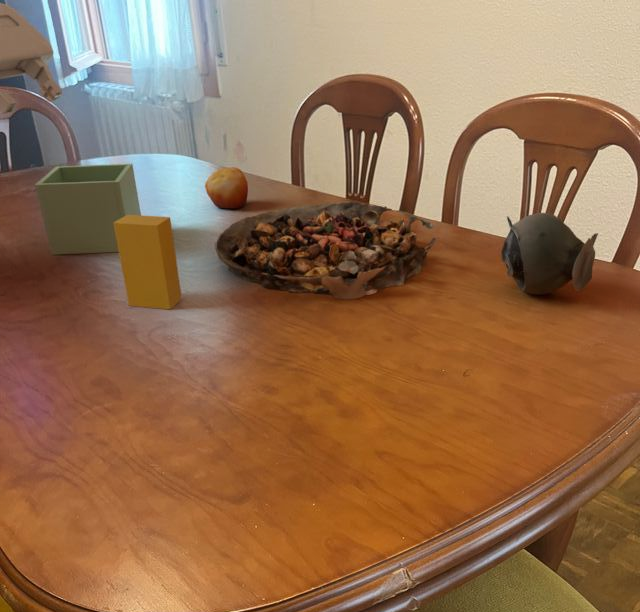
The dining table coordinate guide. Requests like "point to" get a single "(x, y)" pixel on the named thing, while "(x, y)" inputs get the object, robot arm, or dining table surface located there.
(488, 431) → the dining table surface
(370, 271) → the food dish
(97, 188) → the bin
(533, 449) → the dining table surface
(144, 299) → the packet
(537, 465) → the dining table surface
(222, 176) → the fruit
